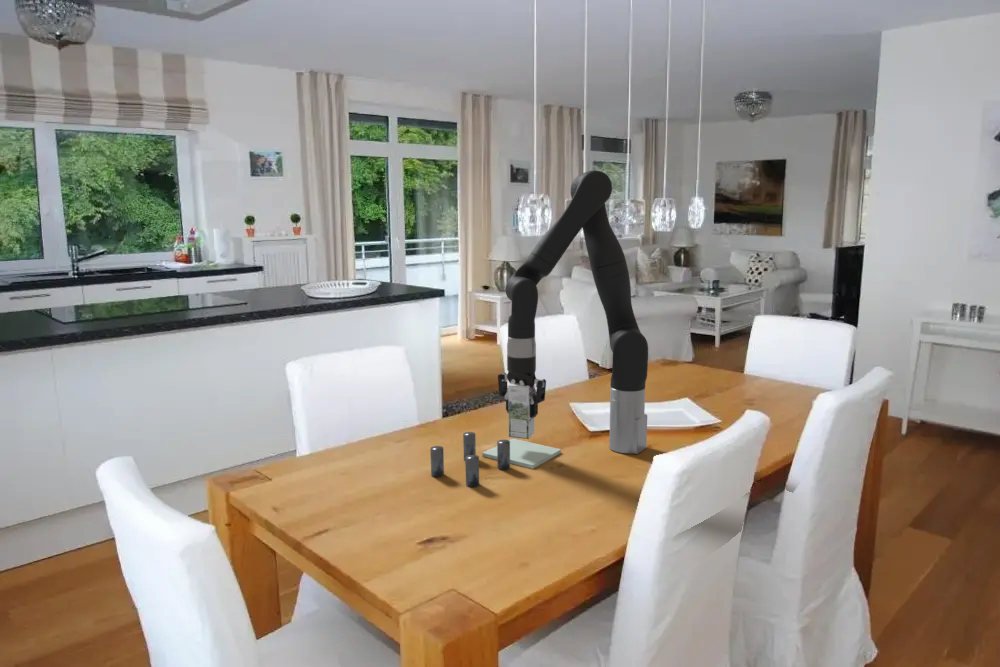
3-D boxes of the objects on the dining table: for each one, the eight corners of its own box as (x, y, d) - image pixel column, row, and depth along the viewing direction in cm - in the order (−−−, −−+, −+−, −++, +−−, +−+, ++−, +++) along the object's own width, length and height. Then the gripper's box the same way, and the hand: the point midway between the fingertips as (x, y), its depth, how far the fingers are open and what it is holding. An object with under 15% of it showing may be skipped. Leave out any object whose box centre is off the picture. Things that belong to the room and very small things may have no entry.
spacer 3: (481, 484, 169) (481, 456, 167) (473, 488, 166) (473, 460, 165) (471, 481, 171) (470, 453, 169) (463, 485, 168) (462, 457, 167)
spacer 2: (478, 458, 185) (477, 433, 184) (470, 462, 183) (470, 436, 182) (468, 456, 187) (468, 431, 186) (461, 459, 185) (460, 434, 183)
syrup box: (535, 432, 189) (535, 380, 186) (528, 439, 183) (528, 386, 181) (515, 430, 191) (514, 379, 188) (508, 437, 185) (507, 384, 183)
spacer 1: (446, 474, 175) (446, 447, 174) (438, 478, 172) (437, 451, 171) (436, 471, 177) (436, 445, 176) (428, 475, 174) (427, 448, 173)
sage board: (561, 452, 189) (561, 449, 189) (532, 468, 178) (532, 465, 178) (512, 441, 198) (512, 438, 198) (482, 456, 187) (482, 452, 187)
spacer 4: (512, 467, 179) (512, 441, 178) (505, 471, 177) (505, 444, 175) (502, 464, 181) (502, 438, 180) (495, 468, 178) (494, 442, 177)
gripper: (552, 354, 182) (552, 416, 185) (507, 347, 190) (507, 407, 193) (536, 359, 176) (536, 423, 179) (490, 352, 184) (491, 413, 187)
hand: (521, 414), depth 186 cm, fingers closed on syrup box, 6 cm apart
